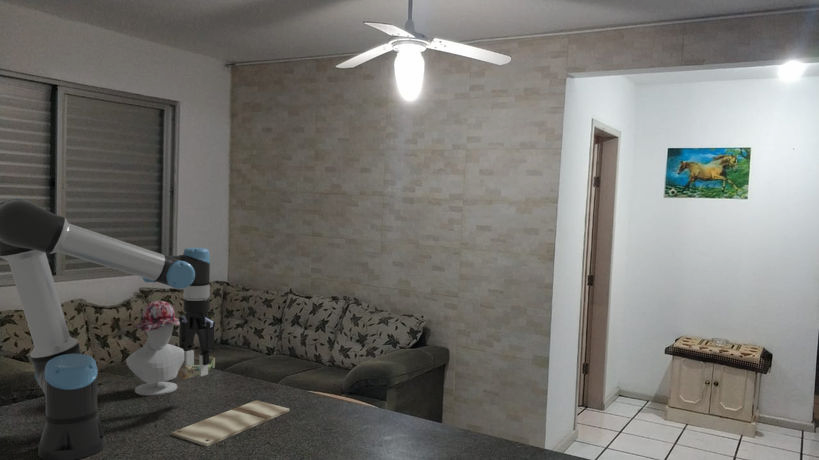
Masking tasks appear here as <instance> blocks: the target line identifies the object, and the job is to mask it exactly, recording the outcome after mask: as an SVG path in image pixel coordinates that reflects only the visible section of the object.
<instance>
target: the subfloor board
mask: <svg viewBox="0 0 819 460" xmlns="http://www.w3.org/2000/svg"><path fill="white" fill-rule="evenodd" d="M290 410H291V409H290V408H288V407H284V406H281V405H277V404H272V403H268V402H265V401H261V400H253V401H250V402H249V403H248V402H247V403H245V404H242V405H240V406H236V407H233V408H232V409H230V410H228V411H227V410H226V411H224V412H221V413H219V414H217V415H214V416H211V417H209V418H205V419H204V420H201V421H198V422H195V423H193V424H190V425H187V426H184V427H182V428H179V429H177V430H175V431H172V432H171V434H170V435H171V436H173V437H176V438H179V439H182V440H186V441H189V442H192V443H195V444H198V445H202V446H204V447H209V446H212V445H214V444H216V443H219V442H221V441H224V440H226V439H228V438H231V437H233V436H235V435H237V434H240V433H242V432H244V431H247V430H249V429H251V428H253V427H256V426H259V425H261V424H263V423H266V422H268V421H271V420H272V419H273V420H274V419H275V418H278V417H279V416H281V415H282V416H283V415H284V414H287V413H289V412H290Z"/></svg>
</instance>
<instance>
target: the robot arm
mask: <svg viewBox="0 0 819 460" xmlns="http://www.w3.org/2000/svg"><path fill="white" fill-rule="evenodd" d="M54 253H60V254H63V255H67V256H70V257H73V258H76V259H80V260H83V261H88V262H91V263H94V264H97V265H101V266H104V267H107V268H111V269H114V270H117V271H120V272H123V273H127V274H129V275H134V276H137V277H140V278H142V280H143V281H144V282H145V283H153V284H154V283H158V284H159V283H160V284H162V285H166V286H170V287H171V288H173V289H178V290H179V289H182V290H183V298H184V300H183V311H184V312H185V315H182V316H179V317H178V319H179V322H180V326H179V340H178V344H179V345H178V347H179V348H182V349H183V350H184V359H185V360H184V367H185V366H187V367H188V366H189V365H195V350H194V349H195V347H193V346H194V340H195V336H196V334H197V337H198V342H199V343H198V344H199V349H200V352H201V353H199V355H198V356H199V362H198V363H199V364H198V365H199V375H198V376H199V377H204V376H207V375H209V370H208V364H209V357H210V354H211V353H215V351H216V349H215V348H216V347H215V324H216V321H215V320H214V319H210V318H209V316H208V312H209V311H210V307H211V303H210V301H211V300H210V299H209V298H210V297H211V296H210V295H211V294H210V293H211V292H210V291H211V290H210V289H211V287H210V285H211V284H210V280H211V279H210V276H211V275H210V274H211V273H210V272H211V259H210V258H211V256H210V251H209V249H208V248H206V247H187V248H185V249H183V253H182V254H179V255H164V254H162V253H159V252H157V251H153V250H150V249H148V248H144V247H141V246H138V245H135V244H133V243H129V242H126V241H123V240H120V239H117V238H114V237H111V236H108V235H105V234H102V233H99V232H97V231H96V232H95V231H93V230H90V229H87V228H84V227H80V226H79V225H78V226H77V225H74V224H72V223H70V222H68V219H67V218H66V217H64V216H61V215H58V214H55V213H53V212H51V211H49V210H46V209H44V208H42V207H41V206H39V205H37V204H35V203H33V202H31V201H27V200H24V199H20V198H19V199H18V198H16V199H7V200H4V201H2V202H0V258H1V259H3V260H6V261H7V262H8V265H9V268H10V271H11V274H12V278H13V280H14V284H15V287H16V291H17V295H18V297H19V300H20V304H21V306H22V310H23V314H24V317H25V320H26V324H27V326H28V329H29V333H30V336H31V340H32V344H33V346H34V347H33V349H32V351H31V352H30V355H29V356H30V359H31V362H32V366H33V369H34V370H33V372H34V378H35V380H36V383H37V385H38V386H39V388H41V390H42V392H43V394H44V396H45V424H44V427H43V431H42V434H41V437H40V439H39V444H38V446H37V447H38V450H37V451H38V452H37V454H38V457H39V458H41V459H42V460H79V459H83V458H86V457H90V456H92V455H94V454H97V453H98V452H100V451H101V450H102V449H104V448H105V446H106V436H105V433H104V429H103V428H102V425H101V421H100V419H99V417H98V371H99V370H98V367H97V361H96V360H95V358H93V357H92V356H90V355H88V354H85V355H84V354H83V353H82V351H81V350H82V349H81V347H80V344H79V340H78V339H77V338H74V337H73V336H71V335H70V332H69V331H70V330H69V329H68V325H67V322H66V318H65V314H64V312H63V307H62V305H61V301H60V297H59V293H58V291H57V288H56V284H55V280H54V276H53V274H52V270H51V267H50V264H49V260H48V257H47V254H50V255H52V254H54Z"/></svg>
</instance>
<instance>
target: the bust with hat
mask: <svg viewBox="0 0 819 460" xmlns="http://www.w3.org/2000/svg"><path fill="white" fill-rule="evenodd" d="M141 313H142V314H141V317H142V320H141V321H140V322H139V323H137V324H136V325H134V327H133V329H140V330H142V331H145V332H146V336H147V340H146V342H145V343H144V345H143V346H141V347H140V348H138V349H136V350H135V351H134V352H132V353H131V354H129V356H128V357H127V358H126V359H125V363H126V366H127V367H128V368H129V370H131V372H132V373H133V374H134V375H135V376H137V377H138V378H139V379H141V381H143V382H144V384H140V385H139V386H136V387H135V389H134V392H135V393H136V394H137V395H141V396H159V395H166V394H169V393H172V392H174V391H175V390H177V389H178V384H176V383H175V382H171V381H170V380H174V379H176V378H177V377H178V371H179V369H180V368H182V365H183V363H185V359H184V350H183V348H180V347H179V346H176V345H173V344H170V343H169V342H170V339H171V337H172V335H173V332H174V331H173V330H174V327H175V326H174V325H176V326H178V327H180V322H179V318H177V317H175V315H176V313H175V309H174V306H173V305H172V304H171V303H170V302H167V301H163V300H155V301H152V302H149V303H148V304H146V305H145V306H144V308H143V310H142V312H141ZM165 393H166V394H165Z"/></svg>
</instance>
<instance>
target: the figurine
mask: <svg viewBox="0 0 819 460" xmlns="http://www.w3.org/2000/svg"><path fill="white" fill-rule="evenodd" d="M215 366H216V358H215V357H212V356H209V364H208V371H209V370H213V369H214V368H216V367H215ZM196 376H199V364H194V365H189V366H188V367H187V366H185V365H184V366H183V367H182V366H181V367H180V369H179V371H178V374H177V377H178V378H179V379H181V380H185V379H190V378H194V377H196Z"/></svg>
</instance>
